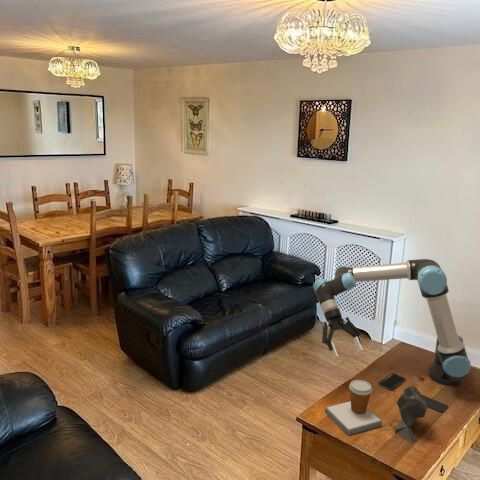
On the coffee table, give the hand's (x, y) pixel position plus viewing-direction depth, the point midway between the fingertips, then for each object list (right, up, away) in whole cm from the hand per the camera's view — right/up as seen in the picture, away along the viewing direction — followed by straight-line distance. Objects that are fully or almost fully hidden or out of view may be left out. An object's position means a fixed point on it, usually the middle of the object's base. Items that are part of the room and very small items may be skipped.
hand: (348, 354), depth 212 cm
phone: (+37, -23, +3) cm, 44 cm away
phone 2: (+26, -19, +19) cm, 37 cm away
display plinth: (-1, -25, -10) cm, 27 cm away
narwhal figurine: (+21, -27, -15) cm, 38 cm away
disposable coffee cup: (+2, -22, -8) cm, 24 cm away
